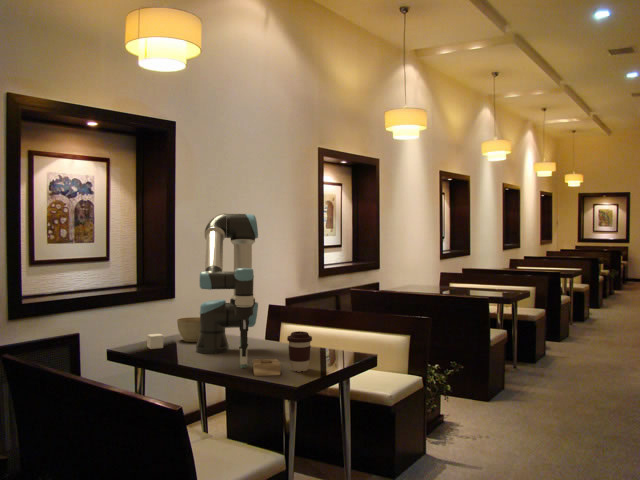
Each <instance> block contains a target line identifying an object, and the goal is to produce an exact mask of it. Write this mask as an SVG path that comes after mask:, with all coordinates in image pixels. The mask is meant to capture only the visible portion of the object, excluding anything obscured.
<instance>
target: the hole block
mask: <svg viewBox="0 0 640 480" xmlns="http://www.w3.org/2000/svg"><path fill="white" fill-rule="evenodd" d="M252 371H253V376H254V377H255V376H256V377H257V376H261V377H262V376H280V375H281V363H280V360H279V359H278V358H262V359H261V358H260V359H257V358H256V359H252Z"/></svg>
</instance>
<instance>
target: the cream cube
mask: <svg viewBox="0 0 640 480" xmlns="http://www.w3.org/2000/svg"><path fill="white" fill-rule="evenodd" d="M146 340H147V343H146V344H147V345H146V346H147V348H148V349H150V350H156V349H163V348H164V335H163V334H161V333H150V334H147V336H146Z"/></svg>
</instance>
